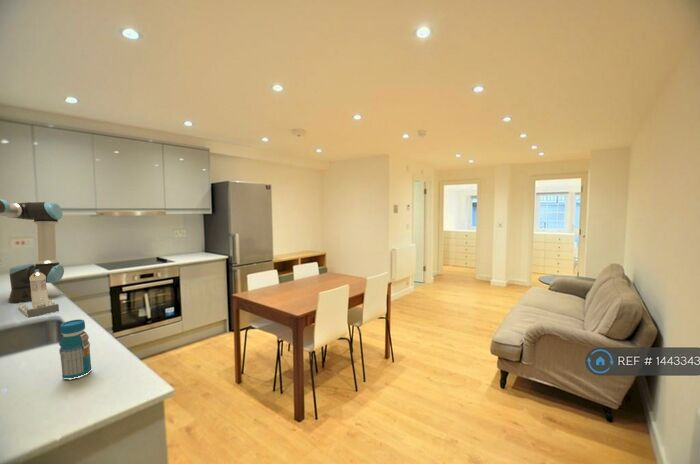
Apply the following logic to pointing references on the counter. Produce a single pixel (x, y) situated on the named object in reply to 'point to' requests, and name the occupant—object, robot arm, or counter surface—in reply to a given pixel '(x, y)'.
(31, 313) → the block
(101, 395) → the counter surface
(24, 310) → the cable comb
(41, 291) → the water bottle
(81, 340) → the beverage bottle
